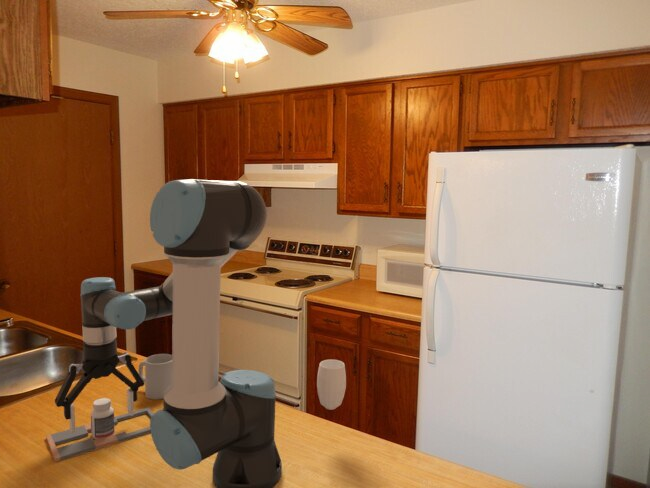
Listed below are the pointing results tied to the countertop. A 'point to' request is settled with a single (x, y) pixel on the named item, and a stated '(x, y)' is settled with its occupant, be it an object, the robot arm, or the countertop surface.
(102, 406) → the pill bottle
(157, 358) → the mug
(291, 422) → the countertop surface
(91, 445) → the keyhole board
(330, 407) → the cup
